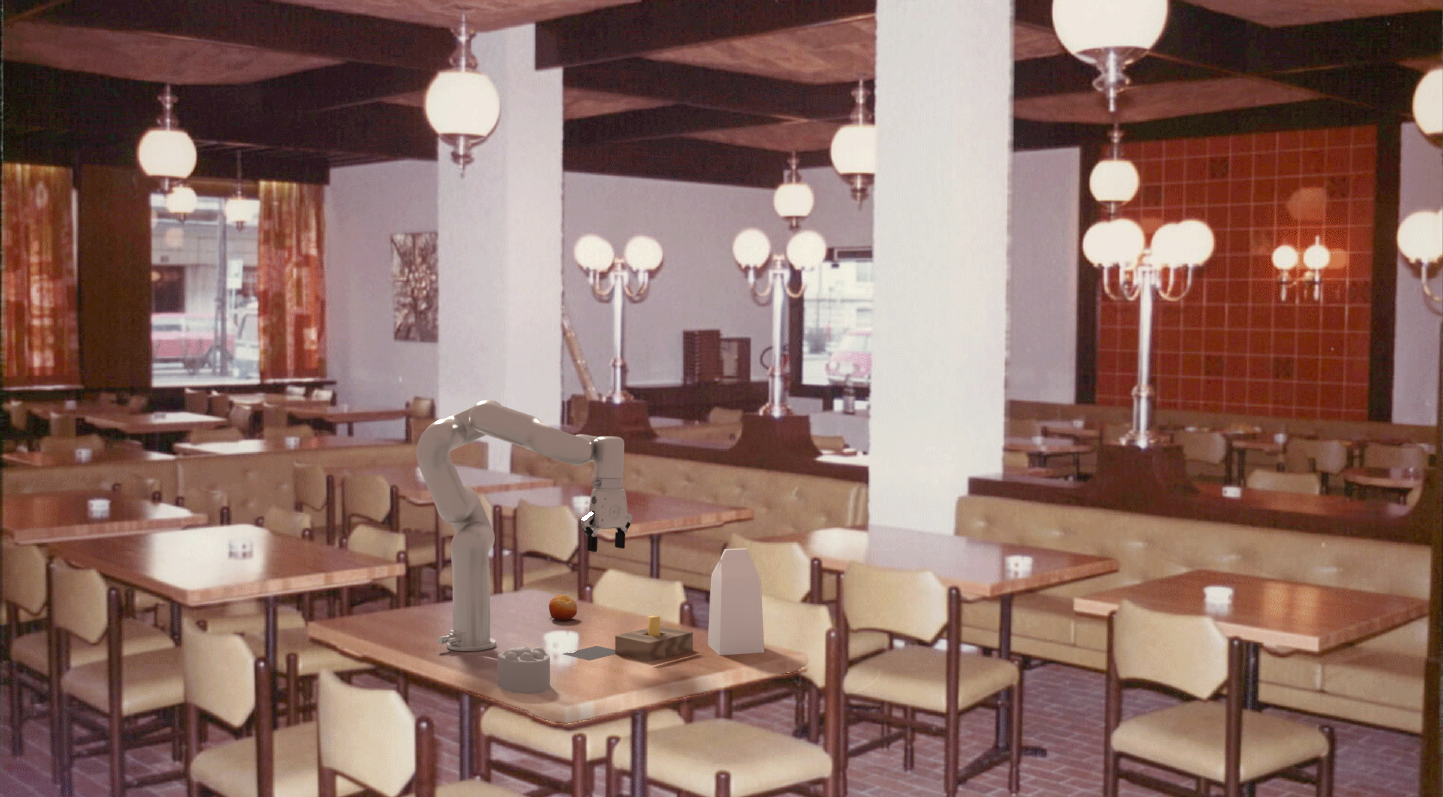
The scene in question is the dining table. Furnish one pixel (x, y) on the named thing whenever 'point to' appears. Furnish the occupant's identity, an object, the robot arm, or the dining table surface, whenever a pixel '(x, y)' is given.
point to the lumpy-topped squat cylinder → (524, 670)
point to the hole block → (653, 644)
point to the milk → (735, 605)
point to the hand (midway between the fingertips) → (606, 549)
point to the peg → (654, 626)
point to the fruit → (562, 608)
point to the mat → (592, 653)
